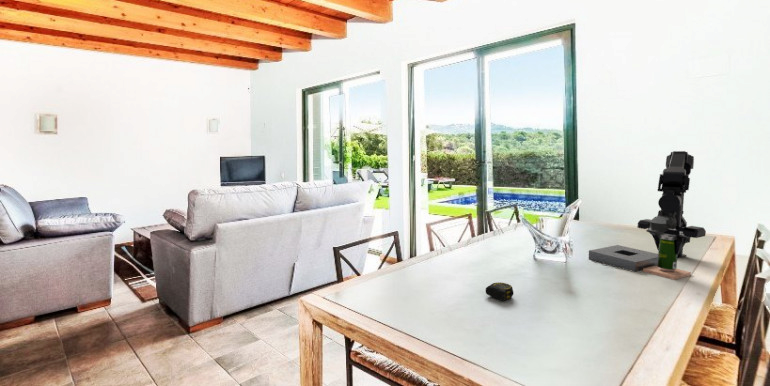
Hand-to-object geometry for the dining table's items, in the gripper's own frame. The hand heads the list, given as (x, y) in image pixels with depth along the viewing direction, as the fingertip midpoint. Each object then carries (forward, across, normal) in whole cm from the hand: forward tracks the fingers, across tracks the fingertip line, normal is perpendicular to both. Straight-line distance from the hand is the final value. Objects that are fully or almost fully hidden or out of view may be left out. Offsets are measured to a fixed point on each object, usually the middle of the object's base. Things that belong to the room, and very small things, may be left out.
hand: (668, 252), depth 136 cm
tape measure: (+8, -10, -67) cm, 68 cm away
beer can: (+6, 0, 0) cm, 6 cm away
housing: (+7, -15, +1) cm, 17 cm away
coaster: (+7, 0, 0) cm, 7 cm away
